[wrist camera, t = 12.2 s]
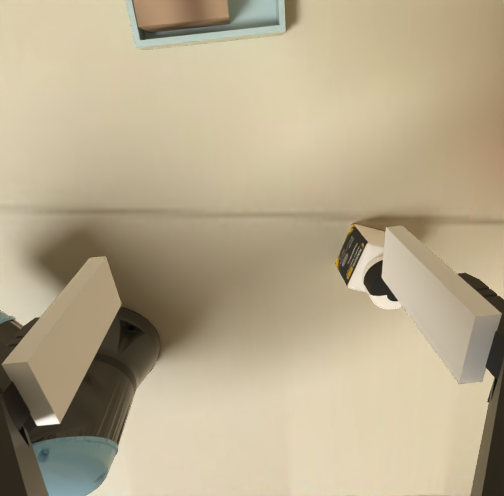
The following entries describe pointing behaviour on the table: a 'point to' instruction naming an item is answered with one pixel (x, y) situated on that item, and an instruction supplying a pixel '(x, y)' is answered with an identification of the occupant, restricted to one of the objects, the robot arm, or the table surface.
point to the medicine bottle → (366, 265)
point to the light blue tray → (241, 26)
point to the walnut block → (180, 14)
